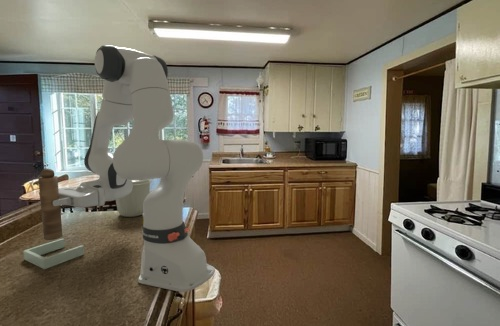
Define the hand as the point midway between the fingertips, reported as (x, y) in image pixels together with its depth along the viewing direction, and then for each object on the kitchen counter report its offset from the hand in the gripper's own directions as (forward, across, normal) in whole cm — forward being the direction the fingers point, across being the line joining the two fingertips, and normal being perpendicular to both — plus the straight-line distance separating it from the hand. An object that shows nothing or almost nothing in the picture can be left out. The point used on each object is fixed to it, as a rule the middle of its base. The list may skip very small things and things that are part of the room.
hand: (47, 202), depth 91 cm
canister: (-45, -18, +19) cm, 52 cm away
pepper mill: (-1, 0, +12) cm, 12 cm away
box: (-1, 0, +19) cm, 19 cm away
